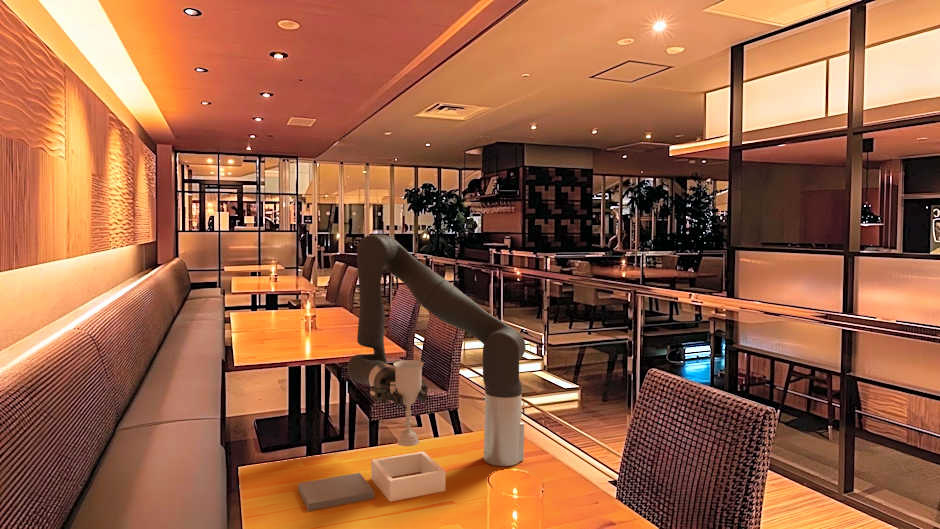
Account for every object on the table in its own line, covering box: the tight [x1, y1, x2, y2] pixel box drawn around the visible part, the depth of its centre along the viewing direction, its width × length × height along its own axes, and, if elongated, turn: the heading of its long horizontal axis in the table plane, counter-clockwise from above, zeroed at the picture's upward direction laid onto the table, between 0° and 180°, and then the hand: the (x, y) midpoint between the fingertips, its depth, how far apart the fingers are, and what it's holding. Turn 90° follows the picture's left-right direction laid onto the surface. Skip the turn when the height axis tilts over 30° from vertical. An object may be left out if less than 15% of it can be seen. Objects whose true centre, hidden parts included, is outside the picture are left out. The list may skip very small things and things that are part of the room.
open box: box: [370, 450, 447, 502], centre depth 138 cm, size 13×13×4 cm
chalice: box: [392, 359, 425, 447], centre depth 137 cm, size 7×7×18 cm
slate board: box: [297, 472, 375, 512], centre depth 133 cm, size 14×11×2 cm
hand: (412, 399), depth 135 cm, fingers closed on chalice, 4 cm apart
